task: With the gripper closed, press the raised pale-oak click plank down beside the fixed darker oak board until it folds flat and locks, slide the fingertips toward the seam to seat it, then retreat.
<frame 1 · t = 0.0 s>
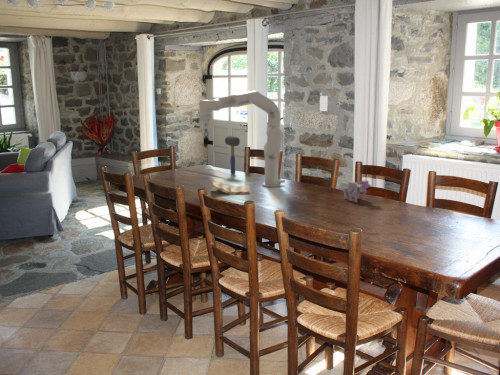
hand: (206, 143, 340), 31 cm above the table, tool pointing down, fingers open, 9 cm apart
toy sheep: (358, 201, 304), on the table
oak plank: (220, 186, 333), point 3 cm above the table, hinge at 25.0°
rubber mallet: (233, 174, 395), on the table
laid board: (239, 191, 335), on the table
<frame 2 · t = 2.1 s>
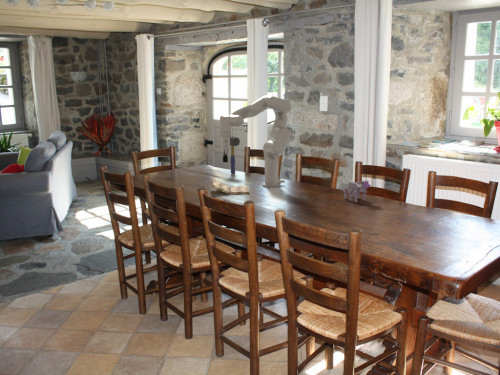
hand: (225, 162, 329), 20 cm above the table, tool pointing down, fingers closed
nothing on the table moved.
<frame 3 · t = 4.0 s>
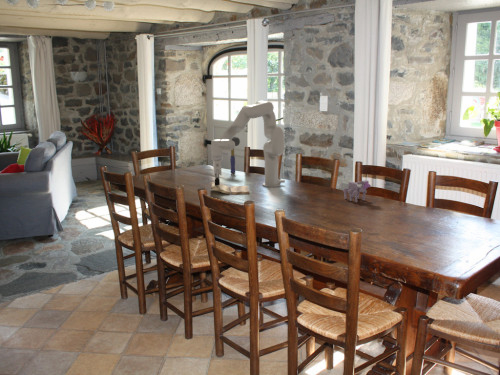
hand: (217, 185, 332), 5 cm above the table, tool pointing down, fingers closed
oak plank: (219, 187, 333), point 3 cm above the table, hinge at 18.5°, touching gripper
everything else where it was.
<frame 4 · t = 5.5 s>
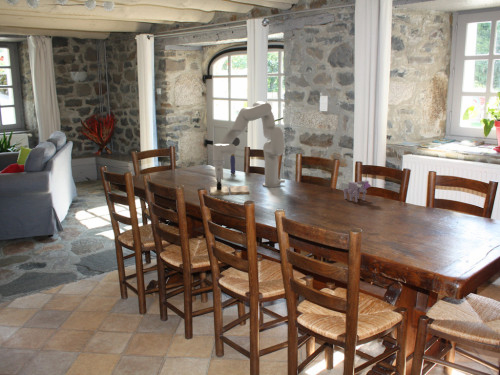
hand: (219, 189, 333), 2 cm above the table, tool pointing down, fingers closed
oak plank: (219, 190, 333), point 1 cm above the table, hinge at 1.0°, touching gripper
everything else where it was.
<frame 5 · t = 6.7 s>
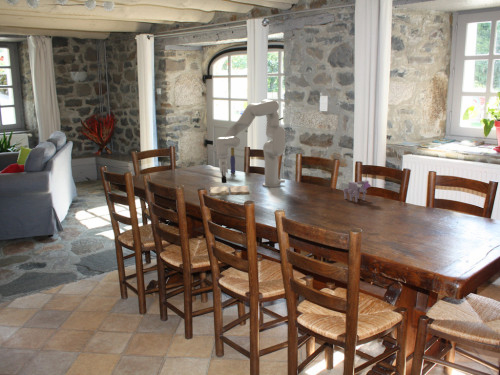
hand: (224, 182, 333), 6 cm above the table, tool pointing down, fingers closed
oak plank: (219, 190, 333), point 1 cm above the table, hinge at 0.0°
everything else where it was.
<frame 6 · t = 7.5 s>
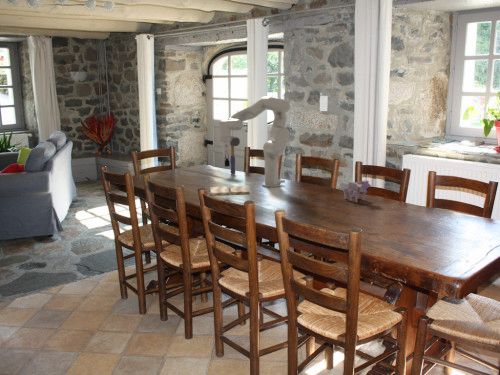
hand: (227, 166, 331), 17 cm above the table, tool pointing down, fingers closed
nothing on the table moved.
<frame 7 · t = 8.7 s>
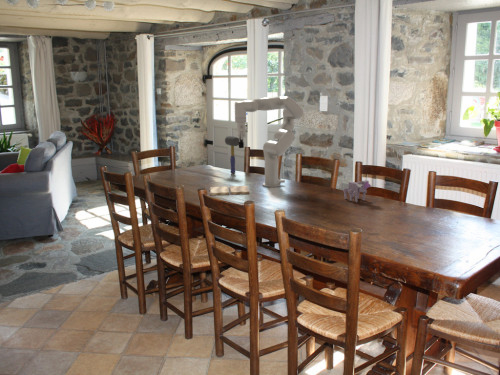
hand: (241, 147, 331), 29 cm above the table, tool pointing down, fingers closed
nothing on the table moved.
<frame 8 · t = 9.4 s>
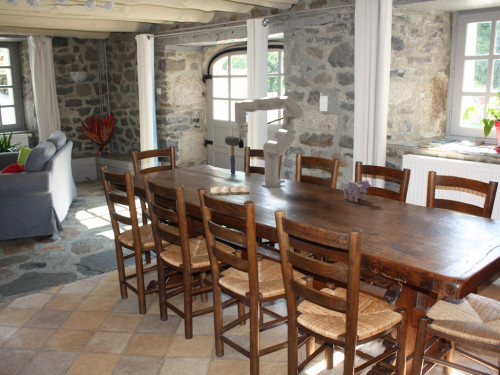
hand: (241, 147, 331), 29 cm above the table, tool pointing down, fingers closed
nothing on the table moved.
at the end: oak plank at +0° (first picture: +25°) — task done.
